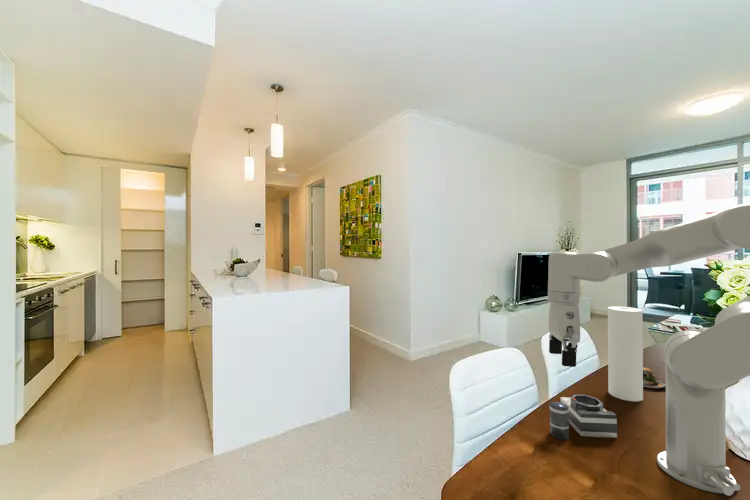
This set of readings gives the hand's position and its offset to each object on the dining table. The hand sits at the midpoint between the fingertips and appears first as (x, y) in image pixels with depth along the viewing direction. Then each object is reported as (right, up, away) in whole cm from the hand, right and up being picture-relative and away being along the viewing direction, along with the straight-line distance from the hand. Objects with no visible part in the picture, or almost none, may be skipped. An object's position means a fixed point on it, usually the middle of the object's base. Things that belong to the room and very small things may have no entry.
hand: (561, 359), depth 89 cm
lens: (-1, -20, -1) cm, 20 cm away
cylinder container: (+35, -20, +22) cm, 46 cm away
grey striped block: (+9, -20, +4) cm, 22 cm away
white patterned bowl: (+49, -20, +31) cm, 61 cm away
